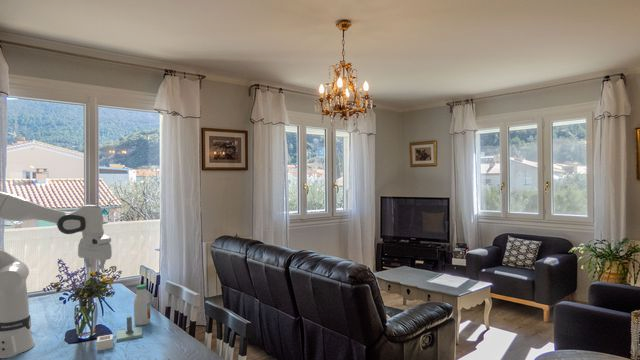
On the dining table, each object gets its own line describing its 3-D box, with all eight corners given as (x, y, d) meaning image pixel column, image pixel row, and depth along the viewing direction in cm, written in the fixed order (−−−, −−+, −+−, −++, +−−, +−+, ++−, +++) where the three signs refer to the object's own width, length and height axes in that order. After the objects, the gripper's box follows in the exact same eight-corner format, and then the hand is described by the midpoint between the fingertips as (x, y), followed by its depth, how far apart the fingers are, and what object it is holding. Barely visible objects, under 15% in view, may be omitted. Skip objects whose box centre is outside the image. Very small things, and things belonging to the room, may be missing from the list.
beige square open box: (96, 350, 177) (96, 341, 177) (98, 345, 183) (97, 336, 183) (112, 347, 180) (112, 339, 180) (113, 342, 186) (112, 334, 186)
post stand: (116, 341, 187) (115, 323, 186) (117, 333, 197) (116, 315, 196) (142, 337, 191) (141, 319, 191) (141, 329, 201) (141, 311, 201)
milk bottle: (144, 326, 205) (143, 287, 204) (131, 325, 206) (129, 287, 206) (153, 320, 212) (152, 283, 212) (140, 320, 214) (139, 283, 213)
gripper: (73, 239, 190) (75, 267, 190) (100, 241, 180) (102, 271, 180) (86, 236, 195) (88, 264, 195) (113, 238, 186) (115, 268, 186)
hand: (95, 268), depth 188 cm, fingers open, 8 cm apart
